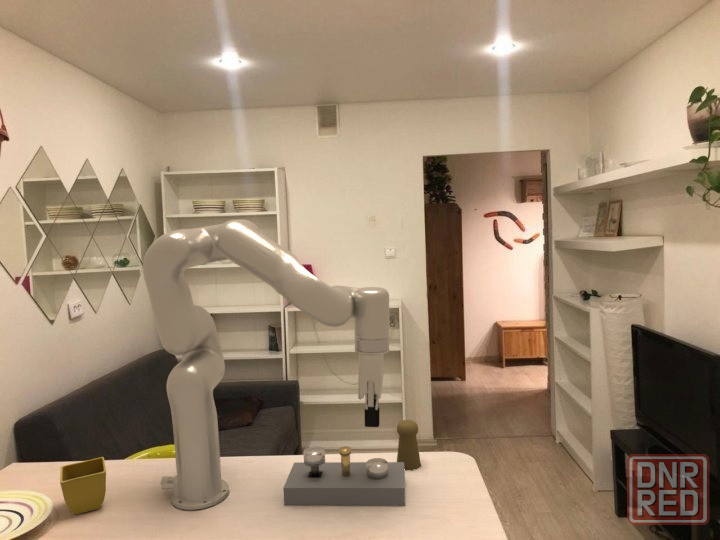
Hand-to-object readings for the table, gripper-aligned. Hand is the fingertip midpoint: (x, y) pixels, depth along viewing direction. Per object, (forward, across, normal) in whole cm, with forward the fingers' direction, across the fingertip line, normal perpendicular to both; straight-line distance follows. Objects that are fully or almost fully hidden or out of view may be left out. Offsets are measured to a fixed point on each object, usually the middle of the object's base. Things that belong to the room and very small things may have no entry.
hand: (372, 425), depth 121 cm
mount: (+16, 0, -6) cm, 17 cm away
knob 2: (+15, 0, +1) cm, 15 cm away
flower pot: (+18, +7, -63) cm, 66 cm away
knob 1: (+13, 0, -13) cm, 18 cm away
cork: (+15, -13, +8) cm, 22 cm away
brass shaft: (+12, 0, -6) cm, 13 cm away
